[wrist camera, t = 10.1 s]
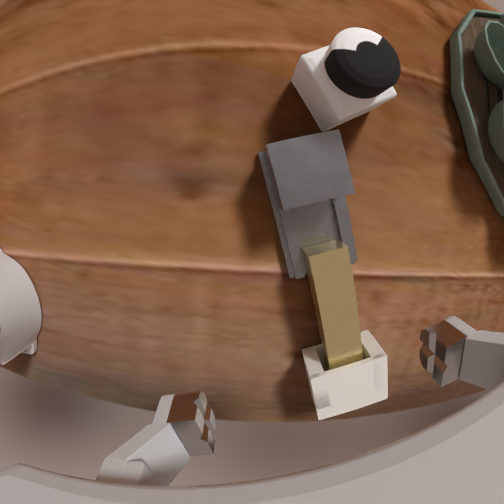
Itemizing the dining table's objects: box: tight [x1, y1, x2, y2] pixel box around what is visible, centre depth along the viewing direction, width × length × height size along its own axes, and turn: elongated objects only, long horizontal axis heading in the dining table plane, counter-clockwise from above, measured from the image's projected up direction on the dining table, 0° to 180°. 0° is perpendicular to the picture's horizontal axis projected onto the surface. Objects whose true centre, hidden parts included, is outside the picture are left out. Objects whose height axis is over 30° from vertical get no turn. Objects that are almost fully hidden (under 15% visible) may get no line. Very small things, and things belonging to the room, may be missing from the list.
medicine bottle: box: [291, 28, 401, 132], centre depth 23 cm, size 7×7×12 cm
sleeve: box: [258, 129, 357, 279], centre depth 29 cm, size 8×14×6 cm, turn 15°
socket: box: [301, 330, 388, 420], centre depth 33 cm, size 9×7×6 cm
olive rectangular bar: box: [302, 239, 363, 371], centre depth 31 cm, size 4×16×4 cm, turn 15°
